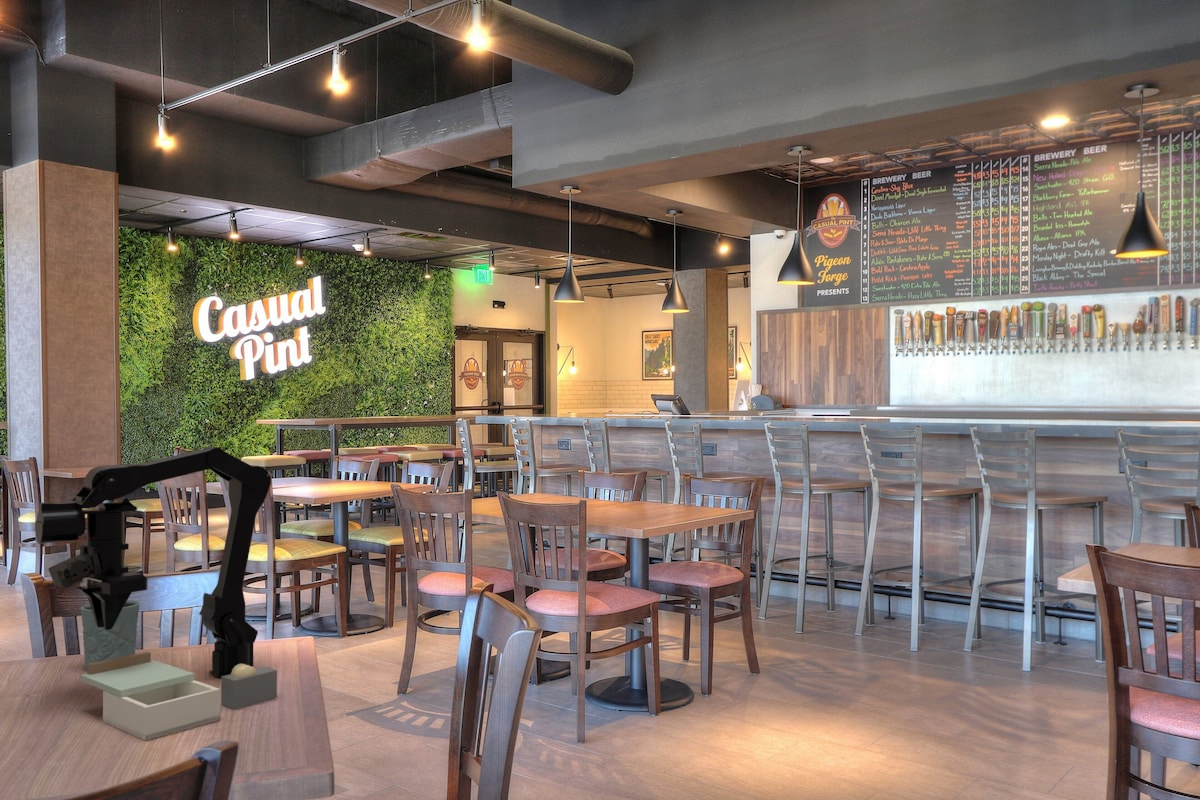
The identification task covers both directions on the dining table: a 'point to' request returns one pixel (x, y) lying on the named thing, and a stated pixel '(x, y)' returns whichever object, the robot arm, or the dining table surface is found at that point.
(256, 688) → the tape dispenser
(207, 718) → the box
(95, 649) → the grey-green cup
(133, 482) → the robot arm
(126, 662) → the lid
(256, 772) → the dining table surface
